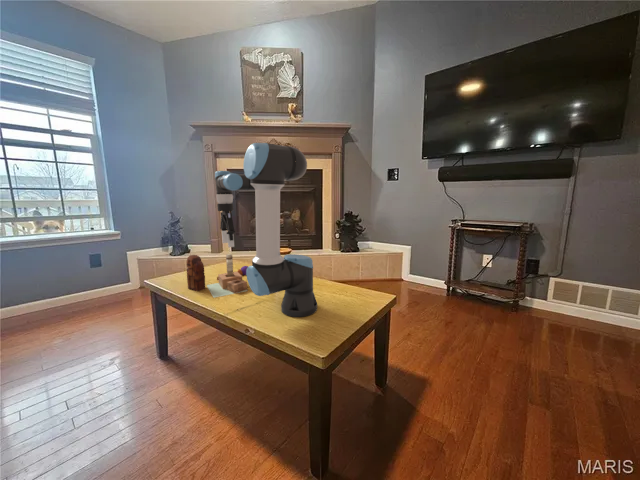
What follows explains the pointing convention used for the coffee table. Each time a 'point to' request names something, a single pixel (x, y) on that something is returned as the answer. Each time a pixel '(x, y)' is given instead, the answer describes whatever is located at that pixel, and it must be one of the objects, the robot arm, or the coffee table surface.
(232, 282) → the brown holed brick
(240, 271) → the kendama
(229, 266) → the grey banded cylinder
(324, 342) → the coffee table surface
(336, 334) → the coffee table surface
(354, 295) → the coffee table surface
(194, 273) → the wooden figurine
